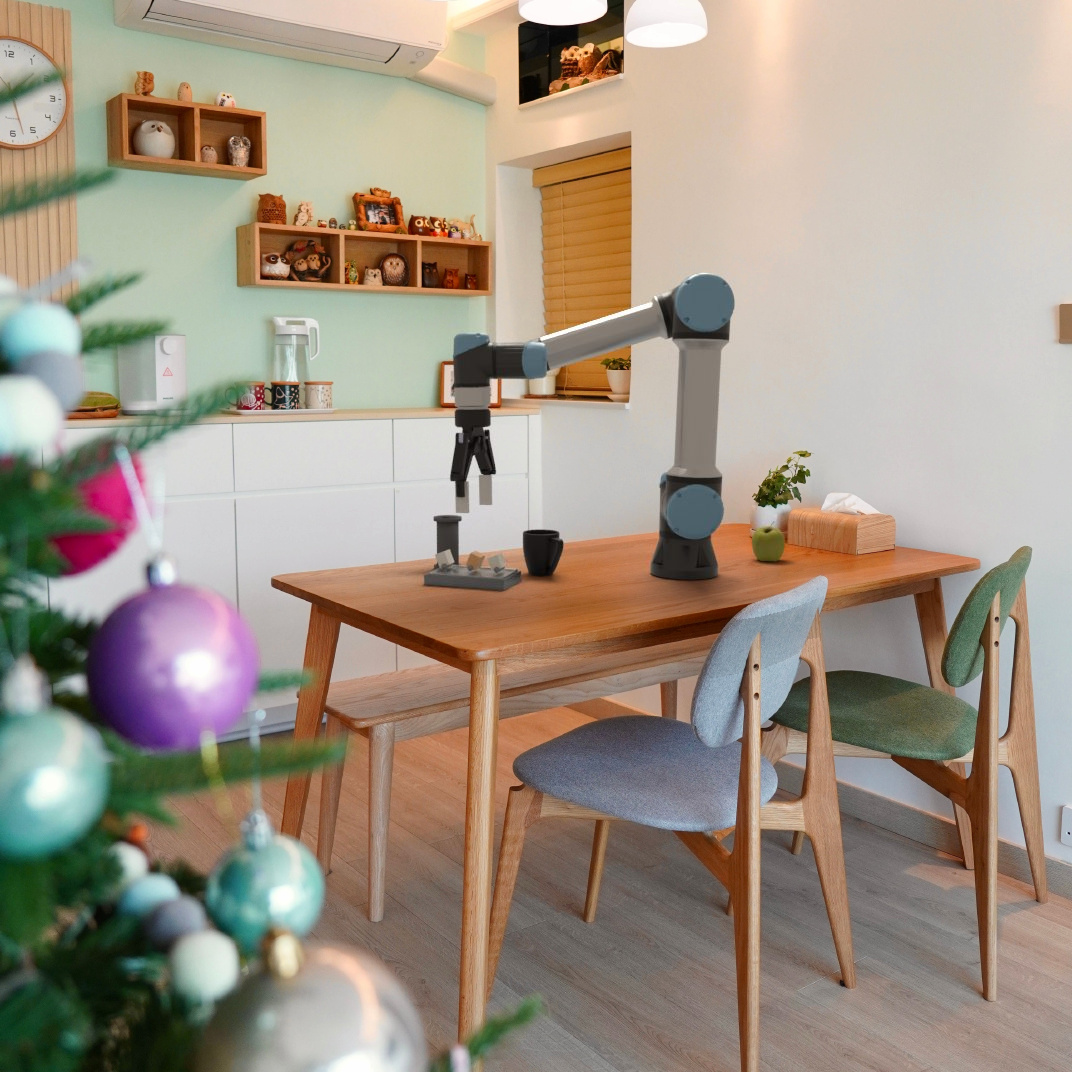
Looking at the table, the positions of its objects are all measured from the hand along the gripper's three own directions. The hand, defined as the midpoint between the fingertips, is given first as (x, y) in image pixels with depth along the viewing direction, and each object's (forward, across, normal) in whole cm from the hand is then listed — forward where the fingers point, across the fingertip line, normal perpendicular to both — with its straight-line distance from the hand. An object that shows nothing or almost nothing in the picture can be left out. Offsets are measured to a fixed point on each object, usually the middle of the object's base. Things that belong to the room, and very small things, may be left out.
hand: (474, 508), depth 226 cm
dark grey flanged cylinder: (+16, -13, -12) cm, 24 cm away
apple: (+17, -49, +56) cm, 77 cm away
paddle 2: (+13, 0, +6) cm, 14 cm away
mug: (+16, -13, +11) cm, 24 cm away
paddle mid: (+12, 0, 0) cm, 13 cm away
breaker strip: (+16, 0, -1) cm, 16 cm away
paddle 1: (+12, 0, -6) cm, 14 cm away
